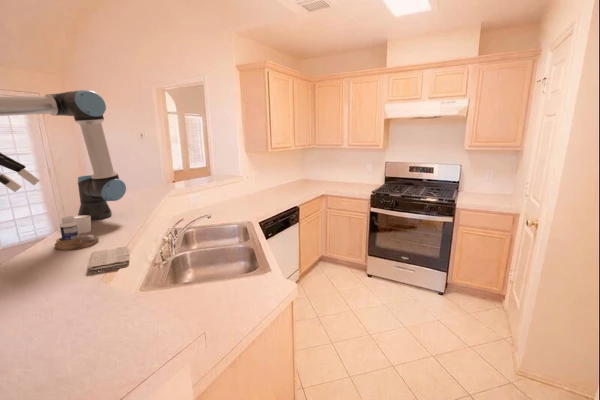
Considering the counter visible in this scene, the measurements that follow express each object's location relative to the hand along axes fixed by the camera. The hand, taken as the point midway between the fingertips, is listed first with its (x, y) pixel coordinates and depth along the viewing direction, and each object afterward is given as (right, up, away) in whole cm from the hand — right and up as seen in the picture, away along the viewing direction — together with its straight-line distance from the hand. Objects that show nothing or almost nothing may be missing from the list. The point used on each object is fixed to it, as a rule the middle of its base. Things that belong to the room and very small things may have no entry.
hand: (28, 185), depth 108 cm
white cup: (+2, -20, +24) cm, 31 cm away
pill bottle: (+10, -22, +8) cm, 25 cm away
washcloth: (+36, -28, -8) cm, 46 cm away
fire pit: (+13, -23, +8) cm, 27 cm away
